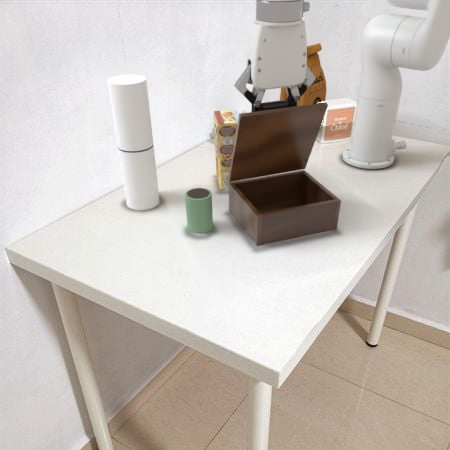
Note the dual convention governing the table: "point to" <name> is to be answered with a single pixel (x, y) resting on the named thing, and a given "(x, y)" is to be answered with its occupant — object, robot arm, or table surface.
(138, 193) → the cylindrical container
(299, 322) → the table surface
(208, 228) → the pencil cup
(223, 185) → the candy box
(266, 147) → the chest lid
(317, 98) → the coffee package
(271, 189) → the chest
